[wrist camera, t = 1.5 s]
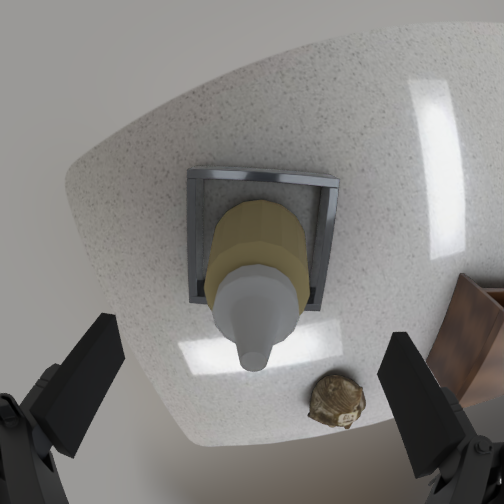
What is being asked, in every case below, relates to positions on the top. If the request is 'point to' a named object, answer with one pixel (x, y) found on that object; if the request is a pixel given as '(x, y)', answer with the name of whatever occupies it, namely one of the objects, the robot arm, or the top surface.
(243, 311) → the squeeze bottle
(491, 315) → the wooden shelf
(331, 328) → the top surface
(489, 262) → the top surface
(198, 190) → the holder
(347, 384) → the fossilized seashell
